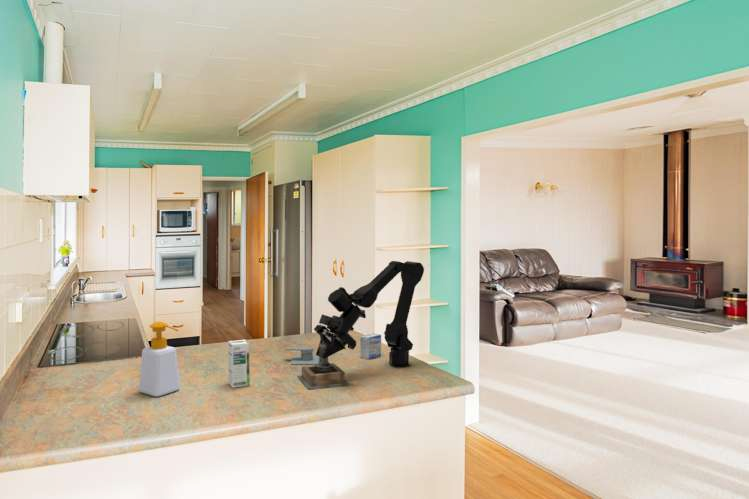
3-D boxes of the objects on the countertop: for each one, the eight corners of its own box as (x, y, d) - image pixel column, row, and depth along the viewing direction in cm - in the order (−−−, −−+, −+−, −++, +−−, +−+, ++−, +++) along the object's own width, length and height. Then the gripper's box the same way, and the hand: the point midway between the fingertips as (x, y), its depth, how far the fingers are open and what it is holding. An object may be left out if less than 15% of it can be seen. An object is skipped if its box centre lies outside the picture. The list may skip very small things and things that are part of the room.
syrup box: (232, 388, 177) (232, 344, 176) (228, 383, 182) (227, 340, 181) (249, 386, 180) (249, 342, 179) (245, 380, 185) (245, 338, 184)
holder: (335, 373, 195) (335, 362, 195) (349, 384, 182) (349, 373, 182) (297, 377, 190) (297, 365, 189) (308, 389, 177) (308, 377, 176)
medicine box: (368, 359, 213) (368, 337, 212) (359, 357, 216) (360, 336, 215) (381, 355, 219) (381, 334, 218) (372, 353, 222) (373, 332, 221)
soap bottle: (165, 401, 164) (164, 328, 163) (136, 392, 172) (135, 322, 170) (191, 392, 172) (190, 322, 171) (163, 384, 180) (162, 317, 178)
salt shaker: (319, 372, 190) (318, 337, 189) (335, 373, 188) (334, 339, 187) (312, 376, 184) (311, 341, 183) (328, 378, 182) (328, 342, 181)
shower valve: (286, 343, 216) (325, 343, 217) (286, 357, 217) (325, 357, 217) (283, 351, 204) (323, 351, 205) (283, 366, 204) (323, 366, 205)
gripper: (318, 301, 194) (291, 337, 188) (349, 309, 179) (320, 348, 173) (337, 321, 199) (311, 355, 193) (368, 330, 185) (341, 368, 179)
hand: (320, 356), depth 185 cm, fingers closed on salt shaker, 4 cm apart
